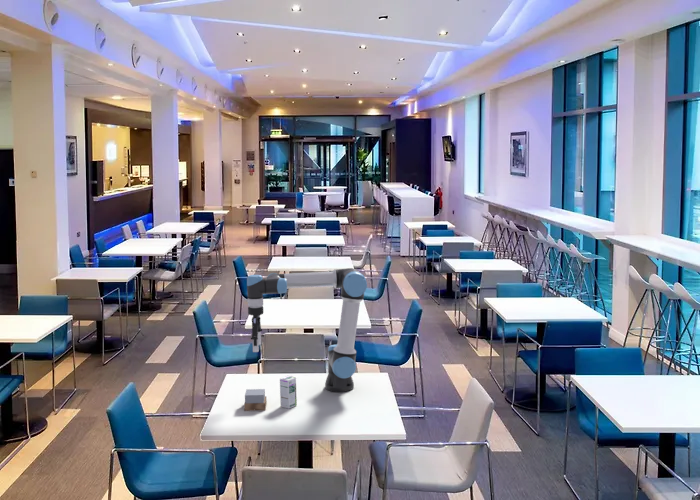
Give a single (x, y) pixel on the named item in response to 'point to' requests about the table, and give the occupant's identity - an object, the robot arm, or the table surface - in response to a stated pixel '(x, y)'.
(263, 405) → the walnut base block
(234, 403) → the table surface
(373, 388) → the table surface
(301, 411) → the table surface
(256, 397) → the slate top block
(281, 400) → the syrup box
